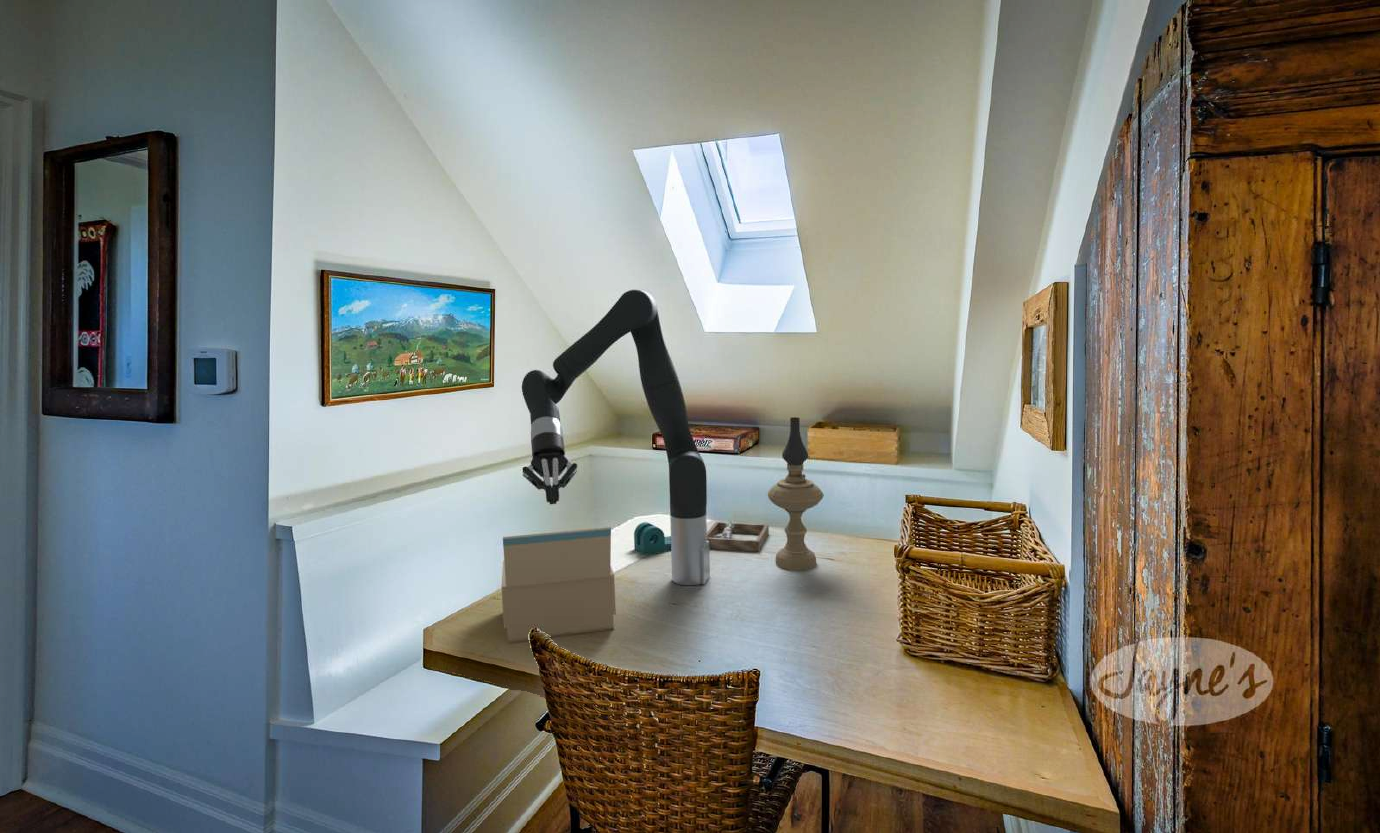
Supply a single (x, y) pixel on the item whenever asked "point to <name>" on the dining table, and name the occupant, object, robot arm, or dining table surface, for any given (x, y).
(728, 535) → the soldier figure
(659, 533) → the bracket
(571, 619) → the tan open box
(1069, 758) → the dining table surface
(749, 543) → the wooden tray
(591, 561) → the wooden box lid
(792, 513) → the oil lamp
